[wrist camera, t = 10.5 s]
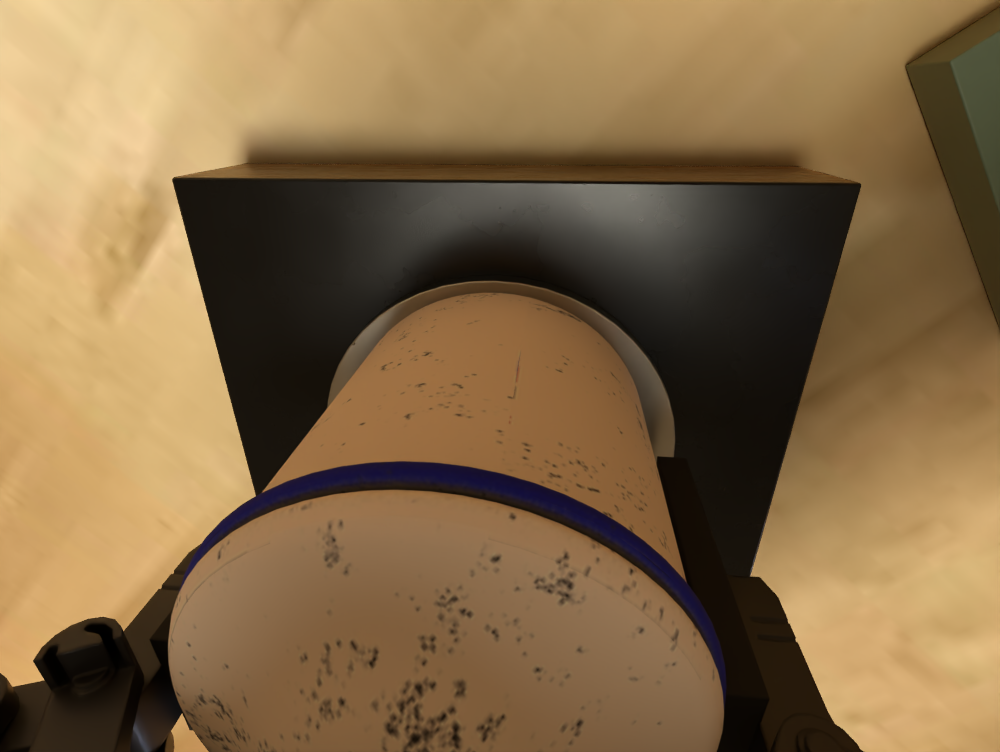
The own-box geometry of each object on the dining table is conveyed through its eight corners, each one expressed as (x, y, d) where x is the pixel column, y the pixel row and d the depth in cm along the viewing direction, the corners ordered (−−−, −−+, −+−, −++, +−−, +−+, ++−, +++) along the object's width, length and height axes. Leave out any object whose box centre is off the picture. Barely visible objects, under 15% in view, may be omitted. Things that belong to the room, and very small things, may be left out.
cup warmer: (816, 166, 17) (899, 186, 12) (721, 552, 24) (754, 645, 20) (246, 162, 18) (155, 179, 14) (319, 523, 26) (273, 603, 21)
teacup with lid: (293, 390, 17) (-138, 849, 6) (526, 208, 14) (410, 544, 3) (524, 619, 20) (483, 1151, 10) (752, 519, 17) (1037, 1147, 7)
